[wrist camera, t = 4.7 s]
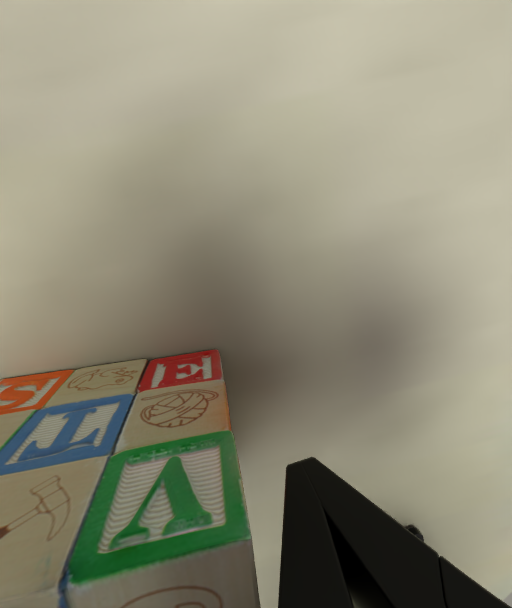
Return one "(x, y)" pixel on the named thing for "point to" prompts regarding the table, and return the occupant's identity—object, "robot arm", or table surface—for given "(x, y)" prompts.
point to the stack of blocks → (123, 489)
